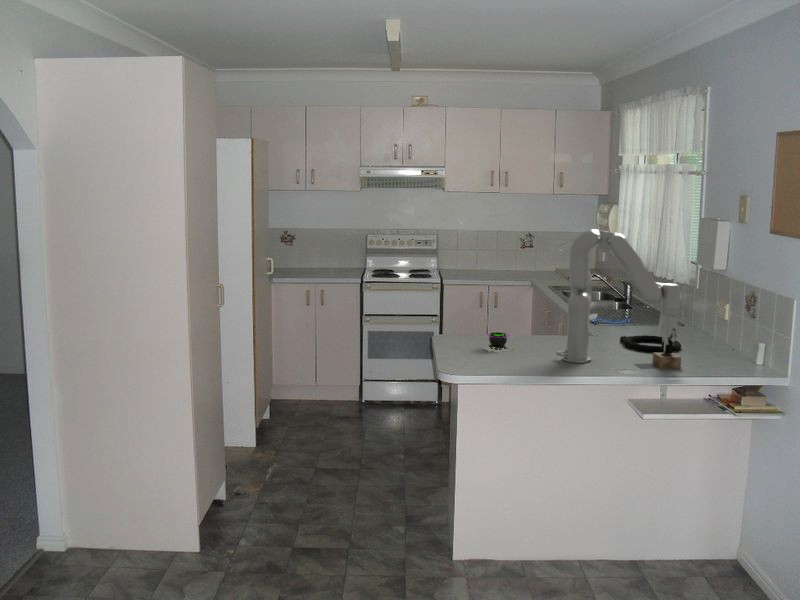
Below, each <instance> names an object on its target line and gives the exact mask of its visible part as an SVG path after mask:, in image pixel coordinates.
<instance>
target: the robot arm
mask: <svg viewBox="0 0 800 600" xmlns="http://www.w3.org/2000/svg"><path fill="white" fill-rule="evenodd" d="M593 249H600V250H604V251H605V250H606V251H610V253H611V255H613V257H614V258H615V259H616V261H617V262H618V263H619V264H620V266H621V267H622V269H623V270H624V271H625V272H626V273H625V274H627V276H628V277H629V278H630V279H631V281H632V282H633V284H634V285H635V286H636V287H637V289H638V290H639V291H640V293H641V294H642V296H643V297H644V298H645V299H646V300H647V301H649V302H657V301H659V300H660V299H661V302H660V315H659V322H658V329H657V331H658V332H657V333H658V335H659V337H662V343H661V346H662V352H664V339H665V338H667V344H666V348H665V353H666V354H672V353H674V352H673V345H674V342H675V341H677V337H678V330H679V328H678V327H679V322H678V321H679V320H678V316H679V314H680V313H679V311H680V299H681V286H680V284H678V283H665V282H663V283H662V282H656V281H655V280H654V278H653V277H652V275H651V274H650V273H649V271H648V270H647V267H646V266H645V263H644V261H643V260H642V258H641V257H640V256H639V254H638V253H637V252H636V251H635V249H634V248H633V247H632V245H631V244H630V243H629V242H628V238H627V237H626V236H625V235H624V234H622V233H619V232H614V231H607V230H601V229H596V228H589V229H587V230H586V231H584V232H583V233H581V234H580V235H578V236H577V237H576V238H575V239H574V240H573V241H572V244H571V246H570V250H569V274H568V275H569V276H568V280H569V281H568V282H569V284H570V297H569V298H568V303H567V331H566V332H567V333H566V334H567V335H566V337H567V338H566V348H564V350H563V351H555V354H556V356H557V357H559V356H560V357H562V359H563V361H565V362H568V363H575V364H576V363H578V364H584V363H585V364H586V363H589V362H591V361H592V358H591V357H590V356H589V355H588V354H589V353H588V351H589V335H590V334H589V332H590V311H591V308H590V307H591V303H592V274H591V271H590V266H589V265H590V252H591V251H592V250H593ZM670 336H671V337H672V338H669V337H670ZM669 339H671V340H669Z"/></svg>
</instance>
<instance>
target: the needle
mask: <svg viewBox="0 0 800 600" xmlns="http://www.w3.org/2000/svg"><path fill="white" fill-rule="evenodd" d="M669 338H672V337H671V336H670V337H669ZM669 340H671V339H669ZM666 344H667V338H665V339H664V355H663V356H671V354H666V353H665V348H666Z"/></svg>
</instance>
